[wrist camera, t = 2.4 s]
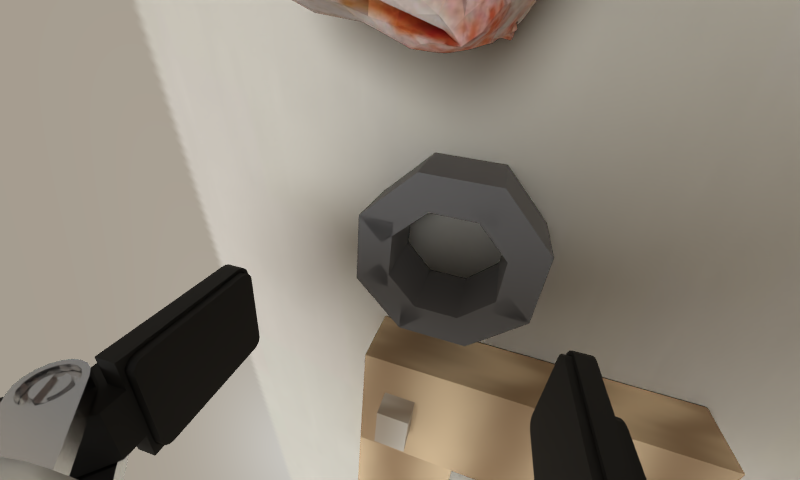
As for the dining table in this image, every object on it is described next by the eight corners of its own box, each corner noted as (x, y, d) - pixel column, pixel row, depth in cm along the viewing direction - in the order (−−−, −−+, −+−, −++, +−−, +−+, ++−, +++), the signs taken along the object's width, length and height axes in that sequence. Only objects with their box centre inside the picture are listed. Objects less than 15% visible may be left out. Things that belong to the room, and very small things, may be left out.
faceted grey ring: (563, 174, 13) (575, 201, 10) (515, 315, 16) (515, 360, 14) (387, 144, 14) (360, 161, 12) (377, 279, 18) (355, 314, 15)
